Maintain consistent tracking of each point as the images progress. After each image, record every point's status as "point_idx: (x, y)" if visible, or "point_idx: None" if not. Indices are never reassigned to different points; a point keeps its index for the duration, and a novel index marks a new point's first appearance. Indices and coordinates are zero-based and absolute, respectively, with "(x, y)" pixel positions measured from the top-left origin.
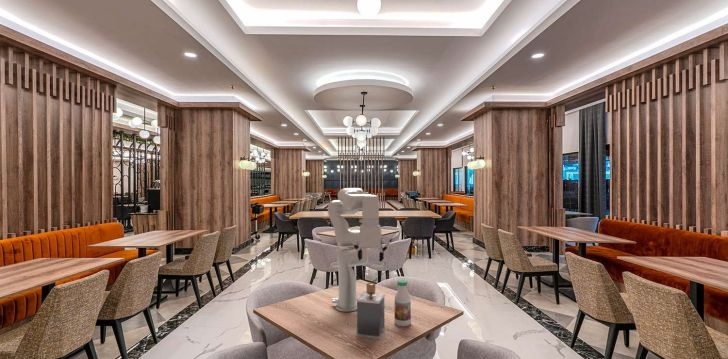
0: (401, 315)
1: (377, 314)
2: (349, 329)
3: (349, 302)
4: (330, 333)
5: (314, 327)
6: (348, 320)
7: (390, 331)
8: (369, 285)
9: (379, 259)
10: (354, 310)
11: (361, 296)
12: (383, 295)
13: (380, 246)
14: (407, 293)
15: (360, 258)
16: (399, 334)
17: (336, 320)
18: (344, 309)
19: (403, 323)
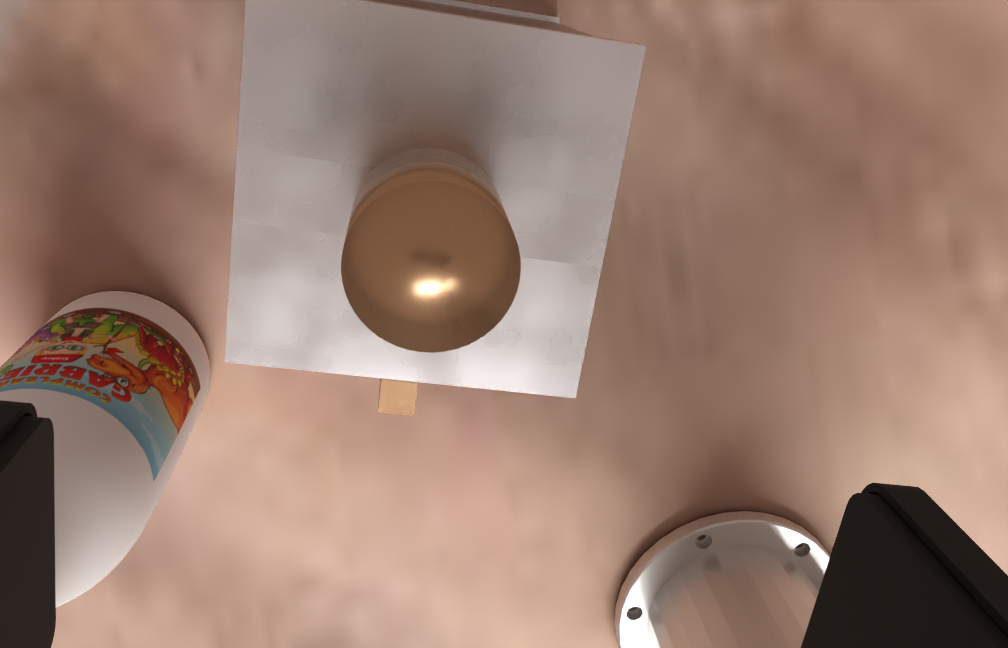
0: (89, 328)
1: None
2: (646, 151)
3: (722, 593)
4: (823, 36)
5: (992, 144)
6: (681, 343)
7: (224, 168)
8: (447, 182)
9: (18, 446)
10: (650, 548)
11: (577, 181)
12: (230, 276)
13: None
14: None
15: (872, 538)
16: (119, 115)
17: (797, 325)
18: (750, 529)
19: (95, 299)
